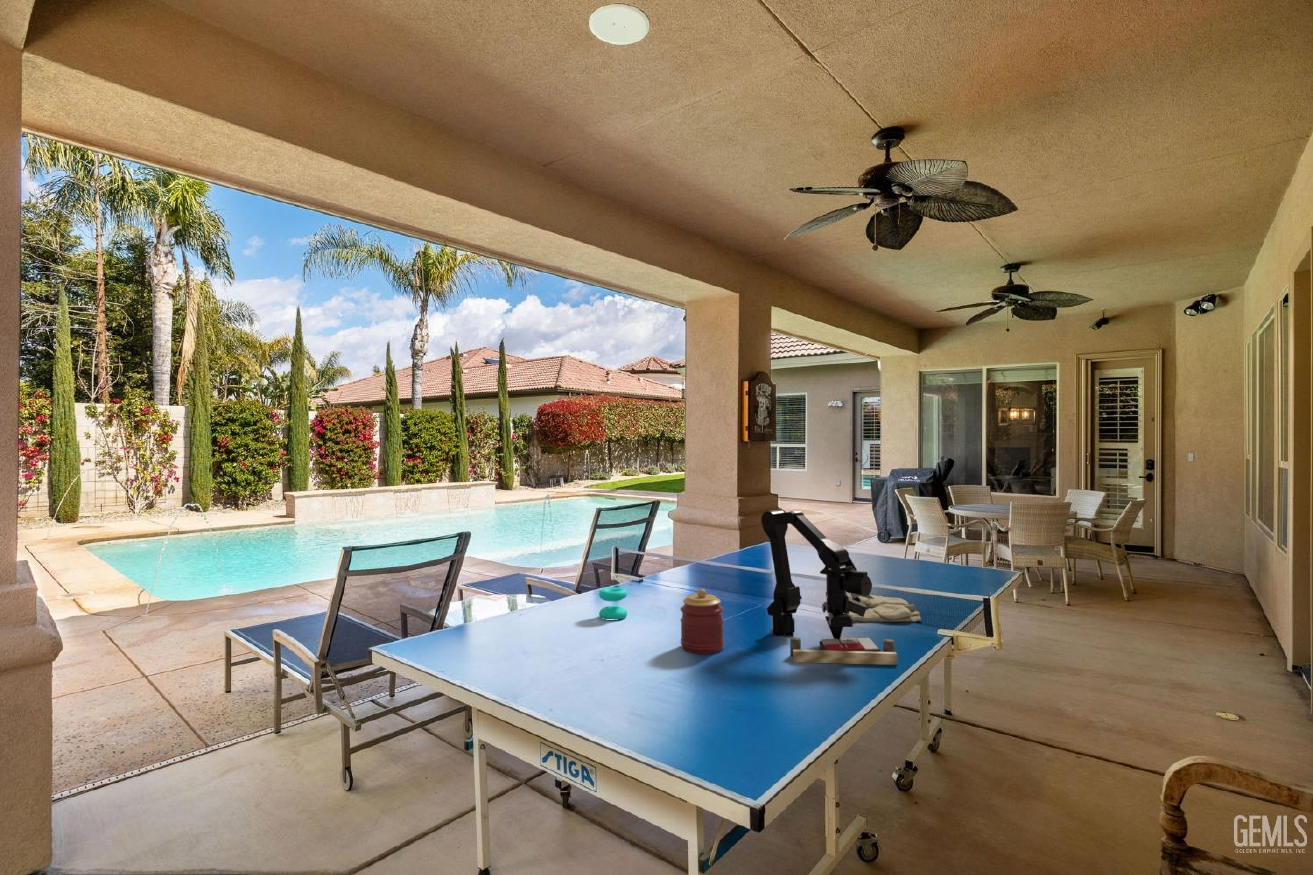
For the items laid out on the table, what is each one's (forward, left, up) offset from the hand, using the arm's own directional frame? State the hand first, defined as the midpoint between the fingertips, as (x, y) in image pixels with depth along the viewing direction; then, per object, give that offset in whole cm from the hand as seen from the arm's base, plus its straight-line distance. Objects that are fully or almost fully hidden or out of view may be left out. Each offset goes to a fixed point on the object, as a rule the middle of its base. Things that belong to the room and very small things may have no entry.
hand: (837, 642), depth 196 cm
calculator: (+2, -6, -2) cm, 7 cm away
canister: (-40, -3, -2) cm, 40 cm away
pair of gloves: (+21, +43, -2) cm, 48 cm away
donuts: (-73, +29, -2) cm, 79 cm away
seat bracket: (0, -10, -1) cm, 10 cm away
